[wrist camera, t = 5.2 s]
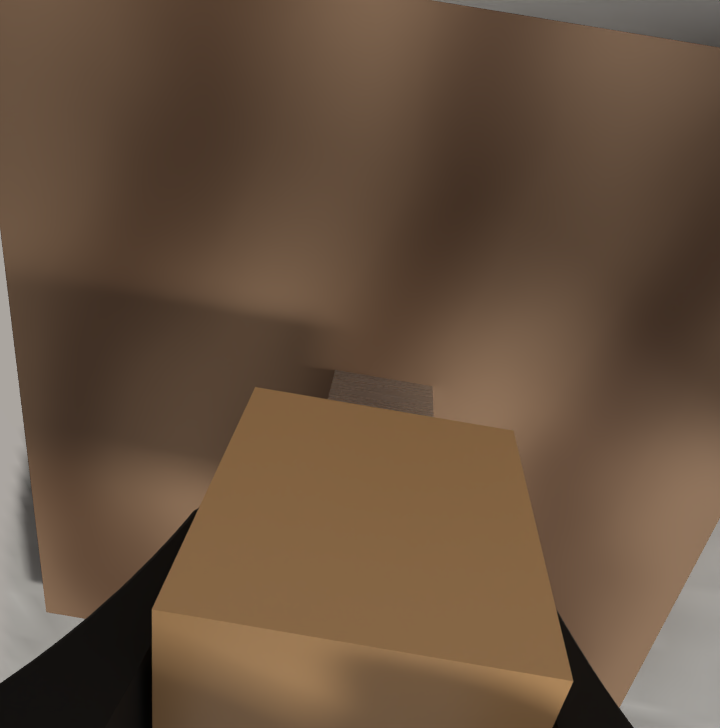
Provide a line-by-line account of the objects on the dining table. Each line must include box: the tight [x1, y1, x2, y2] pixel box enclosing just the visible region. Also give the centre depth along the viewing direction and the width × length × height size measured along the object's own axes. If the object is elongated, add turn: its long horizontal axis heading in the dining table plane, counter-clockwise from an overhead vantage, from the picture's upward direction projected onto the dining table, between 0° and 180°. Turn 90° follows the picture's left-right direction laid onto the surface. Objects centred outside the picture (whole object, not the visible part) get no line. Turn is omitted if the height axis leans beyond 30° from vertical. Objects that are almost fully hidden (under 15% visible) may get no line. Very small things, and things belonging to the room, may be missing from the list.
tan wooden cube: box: [152, 387, 573, 728], centre depth 12 cm, size 5×5×6 cm
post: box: [328, 370, 434, 417], centre depth 16 cm, size 3×3×5 cm
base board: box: [0, 0, 720, 707], centre depth 18 cm, size 20×20×1 cm
